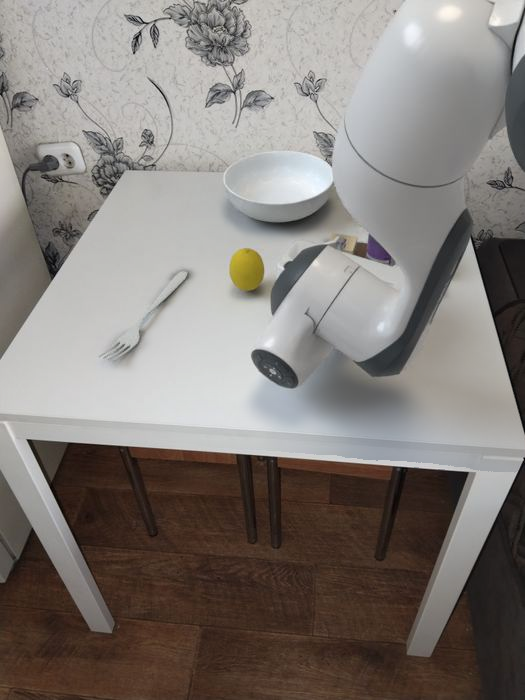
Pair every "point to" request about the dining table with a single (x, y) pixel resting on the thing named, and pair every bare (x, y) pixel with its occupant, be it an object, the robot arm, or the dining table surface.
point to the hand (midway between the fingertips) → (369, 249)
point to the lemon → (246, 269)
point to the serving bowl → (278, 185)
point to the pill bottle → (377, 252)
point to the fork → (133, 335)
